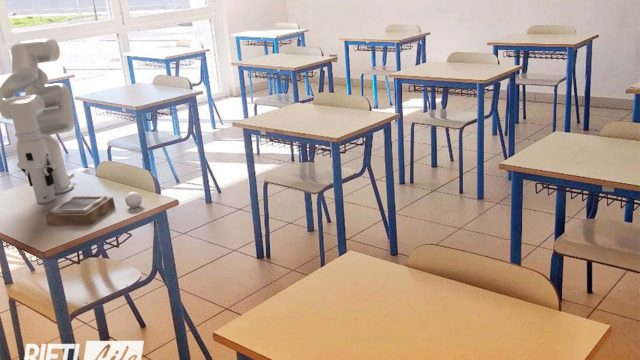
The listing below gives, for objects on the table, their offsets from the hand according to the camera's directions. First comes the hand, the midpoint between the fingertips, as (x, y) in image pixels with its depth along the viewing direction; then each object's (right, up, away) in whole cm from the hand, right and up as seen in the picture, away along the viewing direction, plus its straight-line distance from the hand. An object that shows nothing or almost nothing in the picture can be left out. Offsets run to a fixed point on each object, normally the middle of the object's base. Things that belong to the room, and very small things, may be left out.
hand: (42, 184), depth 226 cm
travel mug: (+1, -6, +2) cm, 7 cm away
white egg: (+33, -8, -2) cm, 34 cm away
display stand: (+16, -11, -7) cm, 21 cm away
